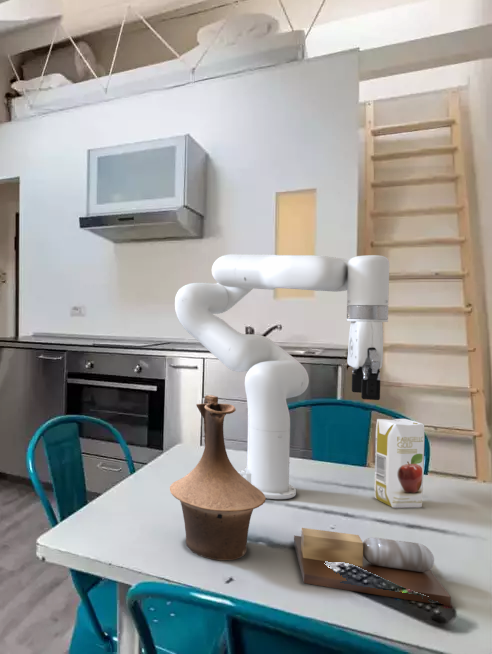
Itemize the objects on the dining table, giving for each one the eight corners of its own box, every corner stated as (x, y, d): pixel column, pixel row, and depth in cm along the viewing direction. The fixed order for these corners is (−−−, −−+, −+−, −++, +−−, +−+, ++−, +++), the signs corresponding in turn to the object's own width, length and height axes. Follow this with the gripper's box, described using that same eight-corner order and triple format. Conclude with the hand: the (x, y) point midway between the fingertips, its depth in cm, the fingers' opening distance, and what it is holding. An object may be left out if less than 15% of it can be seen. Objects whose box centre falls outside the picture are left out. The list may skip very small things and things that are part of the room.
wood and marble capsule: (303, 559, 93) (304, 533, 93) (300, 548, 97) (301, 524, 97) (437, 579, 87) (438, 551, 87) (428, 566, 91) (429, 540, 91)
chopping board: (303, 583, 88) (304, 574, 88) (293, 543, 103) (293, 535, 103) (450, 606, 81) (451, 596, 81) (416, 560, 96) (417, 551, 96)
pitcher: (160, 526, 110) (162, 389, 109) (245, 528, 109) (248, 390, 109) (179, 568, 92) (181, 404, 92) (280, 570, 92) (283, 406, 91)
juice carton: (369, 497, 128) (371, 417, 128) (403, 496, 129) (405, 417, 129) (392, 509, 121) (394, 424, 120) (428, 508, 122) (430, 424, 121)
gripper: (339, 314, 123) (337, 389, 124) (355, 314, 107) (353, 401, 107) (377, 314, 121) (375, 391, 121) (399, 315, 105) (397, 403, 105)
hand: (365, 395), depth 114 cm, fingers open, 9 cm apart
